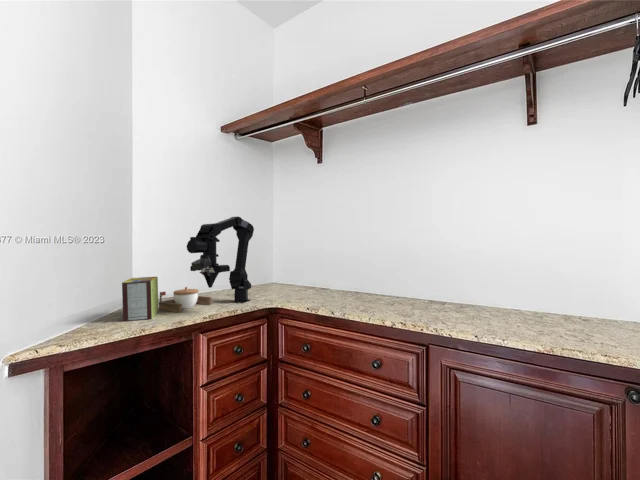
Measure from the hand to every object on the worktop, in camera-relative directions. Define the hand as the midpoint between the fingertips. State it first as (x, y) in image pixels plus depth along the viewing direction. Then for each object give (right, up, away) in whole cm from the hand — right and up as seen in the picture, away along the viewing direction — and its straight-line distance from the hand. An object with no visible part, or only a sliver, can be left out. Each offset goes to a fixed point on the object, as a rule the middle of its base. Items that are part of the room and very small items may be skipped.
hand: (210, 287), depth 144 cm
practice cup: (-13, -10, +7) cm, 18 cm away
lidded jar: (-14, -11, +7) cm, 19 cm away
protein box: (-25, -11, -9) cm, 29 cm away
